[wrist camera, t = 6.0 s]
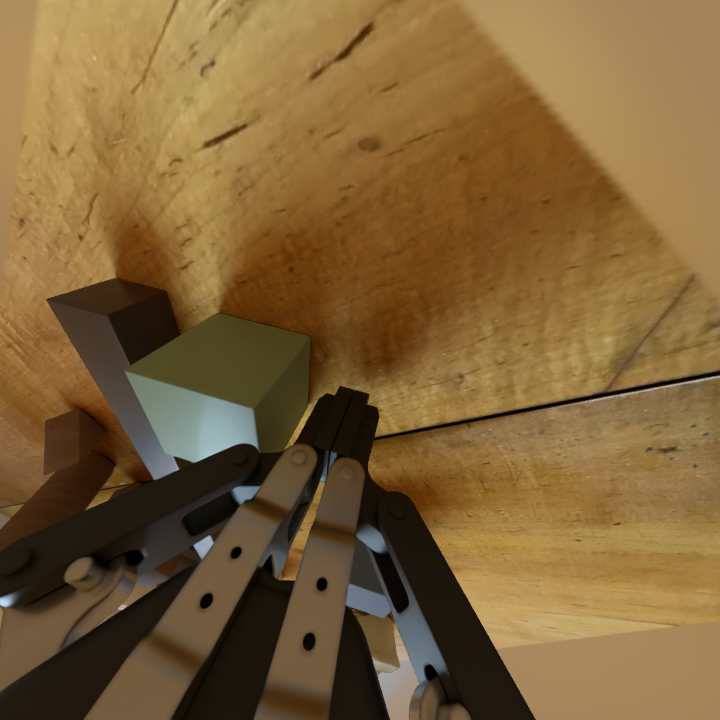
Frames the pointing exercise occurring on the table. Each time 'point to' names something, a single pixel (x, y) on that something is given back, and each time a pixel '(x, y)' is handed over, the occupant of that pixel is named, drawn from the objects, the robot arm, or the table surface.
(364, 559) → the blue block
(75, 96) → the table surface
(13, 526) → the wooden block set
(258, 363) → the green block
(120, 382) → the straightedge
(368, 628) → the bone
